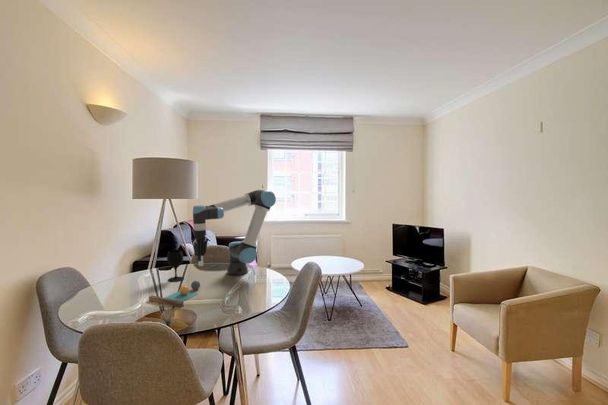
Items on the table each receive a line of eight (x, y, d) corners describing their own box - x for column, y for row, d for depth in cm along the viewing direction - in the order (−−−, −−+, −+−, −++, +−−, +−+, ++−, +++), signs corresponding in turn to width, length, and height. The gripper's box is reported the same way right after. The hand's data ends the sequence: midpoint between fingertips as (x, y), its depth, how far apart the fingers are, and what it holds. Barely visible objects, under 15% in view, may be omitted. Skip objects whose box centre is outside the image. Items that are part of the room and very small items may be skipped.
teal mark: (180, 290, 195) (180, 290, 195) (198, 294, 190) (198, 293, 190) (162, 298, 183) (162, 298, 183) (180, 302, 177) (180, 302, 177)
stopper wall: (152, 299, 182) (151, 295, 182) (183, 306, 172) (183, 301, 172) (149, 300, 180) (148, 296, 180) (180, 307, 171) (180, 303, 170)
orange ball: (184, 284, 192) (177, 286, 187) (191, 285, 190) (184, 287, 185) (183, 292, 192) (177, 295, 187) (190, 294, 190) (184, 296, 185)
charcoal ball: (191, 279, 197) (188, 287, 195) (198, 280, 195) (195, 289, 193) (196, 280, 202) (193, 289, 200) (203, 282, 200) (199, 291, 198)
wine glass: (178, 282, 210) (177, 253, 209) (164, 281, 213) (163, 252, 211) (187, 277, 221) (186, 249, 219) (173, 276, 223) (172, 249, 221)
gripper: (202, 227, 207) (203, 262, 209) (187, 230, 195) (189, 267, 197) (211, 228, 204) (212, 263, 206) (197, 231, 192) (198, 269, 194)
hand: (200, 265), depth 202 cm, fingers closed
